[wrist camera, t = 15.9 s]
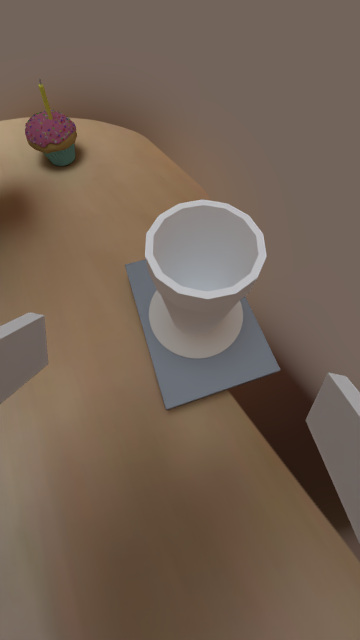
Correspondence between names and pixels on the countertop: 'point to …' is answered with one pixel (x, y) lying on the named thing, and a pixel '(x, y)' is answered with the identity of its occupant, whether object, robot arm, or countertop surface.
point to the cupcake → (52, 134)
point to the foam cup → (203, 261)
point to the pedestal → (199, 347)
